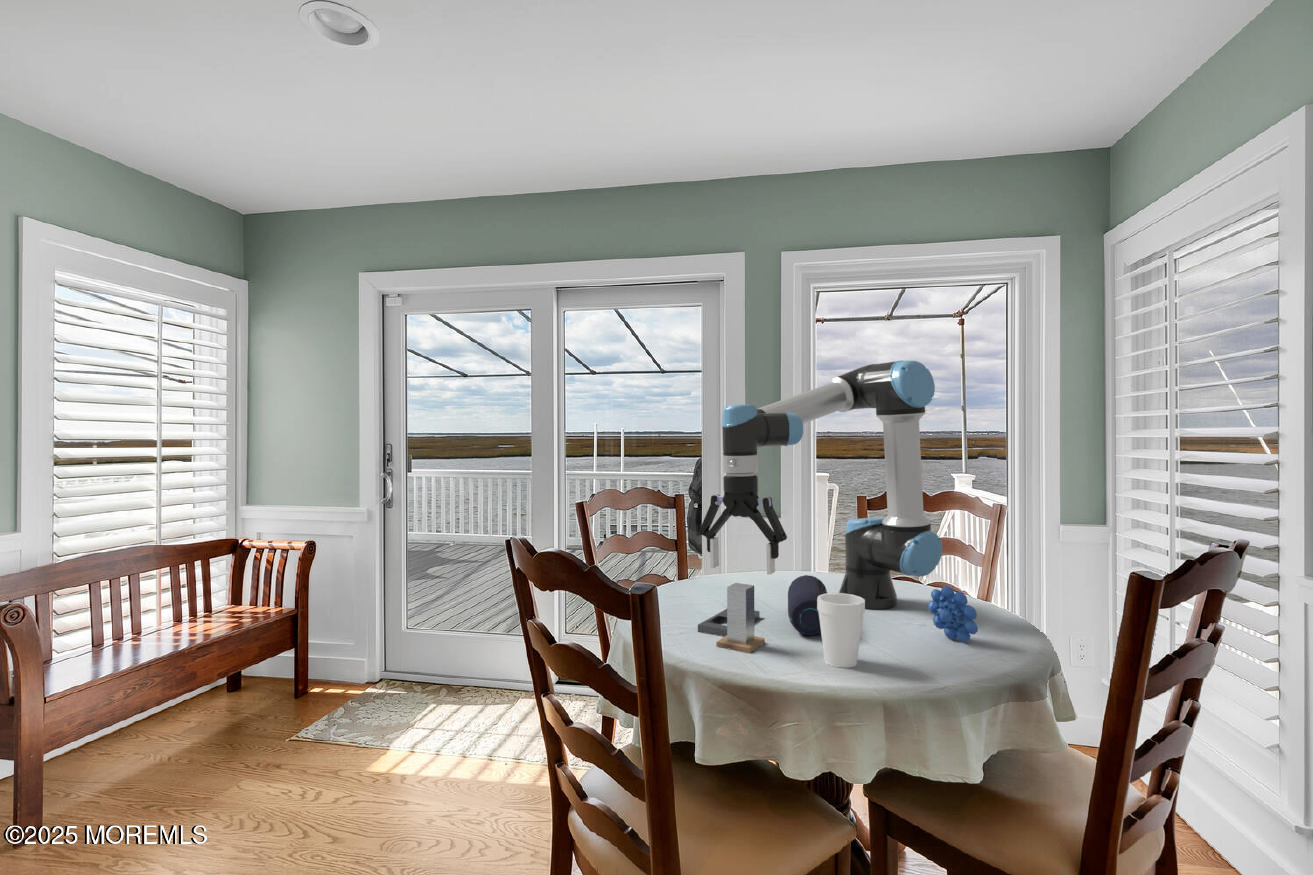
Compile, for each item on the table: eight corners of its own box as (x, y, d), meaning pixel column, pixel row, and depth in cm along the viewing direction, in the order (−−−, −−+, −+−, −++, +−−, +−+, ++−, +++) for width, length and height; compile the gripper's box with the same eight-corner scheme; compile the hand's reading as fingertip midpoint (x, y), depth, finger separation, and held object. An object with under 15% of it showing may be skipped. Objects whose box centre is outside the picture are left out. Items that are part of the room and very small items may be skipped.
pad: (764, 642, 146) (764, 637, 146) (749, 652, 139) (749, 648, 139) (732, 636, 150) (732, 631, 150) (716, 646, 143) (716, 641, 143)
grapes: (917, 636, 149) (917, 584, 149) (934, 631, 153) (934, 580, 153) (966, 650, 140) (967, 595, 140) (983, 644, 144) (983, 590, 144)
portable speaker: (833, 641, 147) (833, 597, 147) (788, 638, 149) (787, 595, 149) (826, 610, 171) (826, 572, 171) (787, 608, 173) (787, 571, 173)
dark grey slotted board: (759, 617, 165) (759, 610, 165) (728, 637, 150) (728, 629, 150) (730, 612, 169) (730, 606, 169) (697, 631, 154) (697, 624, 154)
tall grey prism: (754, 638, 145) (754, 585, 145) (746, 644, 142) (745, 589, 141) (735, 635, 148) (735, 582, 148) (727, 640, 144) (727, 586, 144)
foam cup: (811, 654, 138) (811, 593, 138) (853, 653, 139) (853, 592, 139) (826, 671, 129) (826, 605, 128) (872, 669, 129) (872, 604, 129)
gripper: (683, 474, 147) (685, 567, 148) (788, 477, 134) (789, 579, 135) (698, 471, 154) (700, 561, 154) (800, 474, 140) (802, 572, 141)
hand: (742, 570), depth 145 cm, fingers open, 13 cm apart
